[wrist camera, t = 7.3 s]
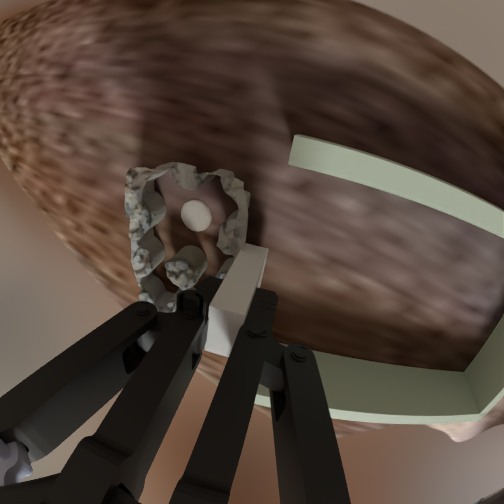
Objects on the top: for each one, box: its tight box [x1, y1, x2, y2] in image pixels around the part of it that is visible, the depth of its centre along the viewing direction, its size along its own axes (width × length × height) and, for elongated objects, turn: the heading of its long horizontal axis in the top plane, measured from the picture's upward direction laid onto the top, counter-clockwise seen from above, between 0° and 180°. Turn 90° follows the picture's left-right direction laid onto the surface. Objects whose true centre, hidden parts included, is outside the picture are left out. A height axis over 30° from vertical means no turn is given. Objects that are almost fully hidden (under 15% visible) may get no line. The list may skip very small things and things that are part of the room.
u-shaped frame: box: [254, 134, 504, 424], centre depth 15 cm, size 23×16×6 cm
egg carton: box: [124, 162, 251, 312], centre depth 18 cm, size 11×8×4 cm
